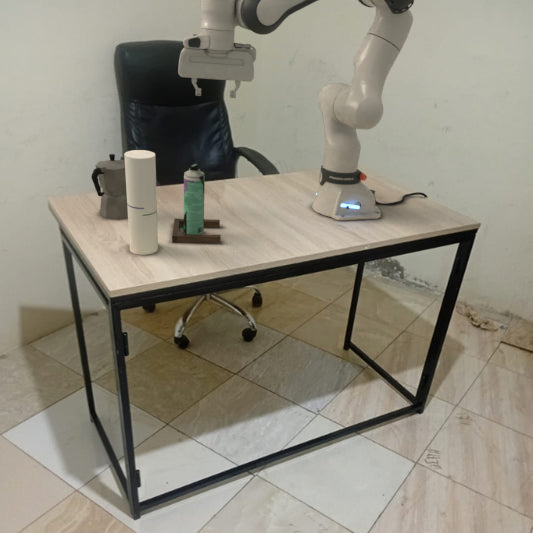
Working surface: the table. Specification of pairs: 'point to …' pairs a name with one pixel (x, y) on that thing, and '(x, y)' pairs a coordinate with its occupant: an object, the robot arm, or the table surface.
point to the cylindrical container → (141, 201)
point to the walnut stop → (195, 237)
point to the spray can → (194, 200)
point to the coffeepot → (111, 188)
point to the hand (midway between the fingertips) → (215, 96)
